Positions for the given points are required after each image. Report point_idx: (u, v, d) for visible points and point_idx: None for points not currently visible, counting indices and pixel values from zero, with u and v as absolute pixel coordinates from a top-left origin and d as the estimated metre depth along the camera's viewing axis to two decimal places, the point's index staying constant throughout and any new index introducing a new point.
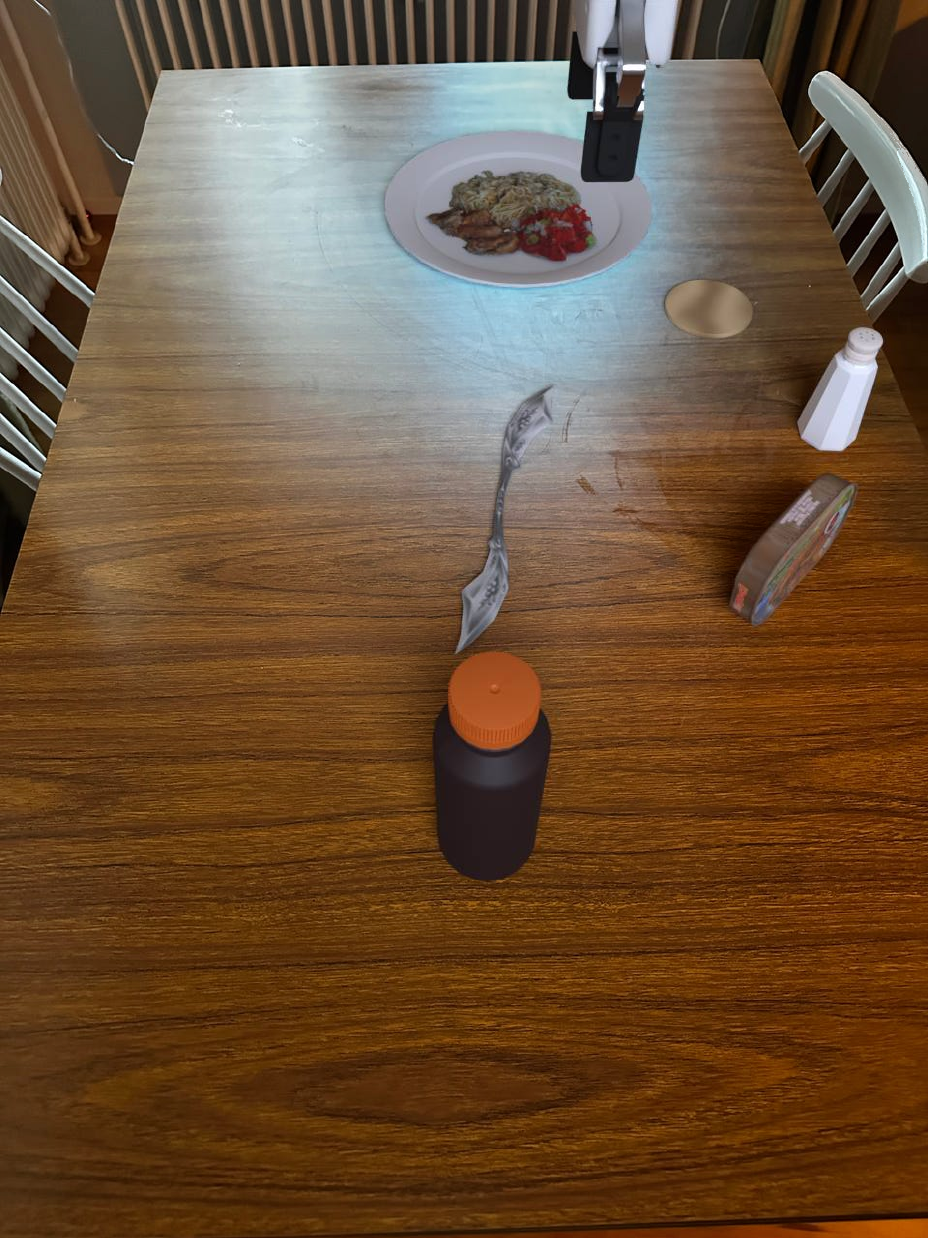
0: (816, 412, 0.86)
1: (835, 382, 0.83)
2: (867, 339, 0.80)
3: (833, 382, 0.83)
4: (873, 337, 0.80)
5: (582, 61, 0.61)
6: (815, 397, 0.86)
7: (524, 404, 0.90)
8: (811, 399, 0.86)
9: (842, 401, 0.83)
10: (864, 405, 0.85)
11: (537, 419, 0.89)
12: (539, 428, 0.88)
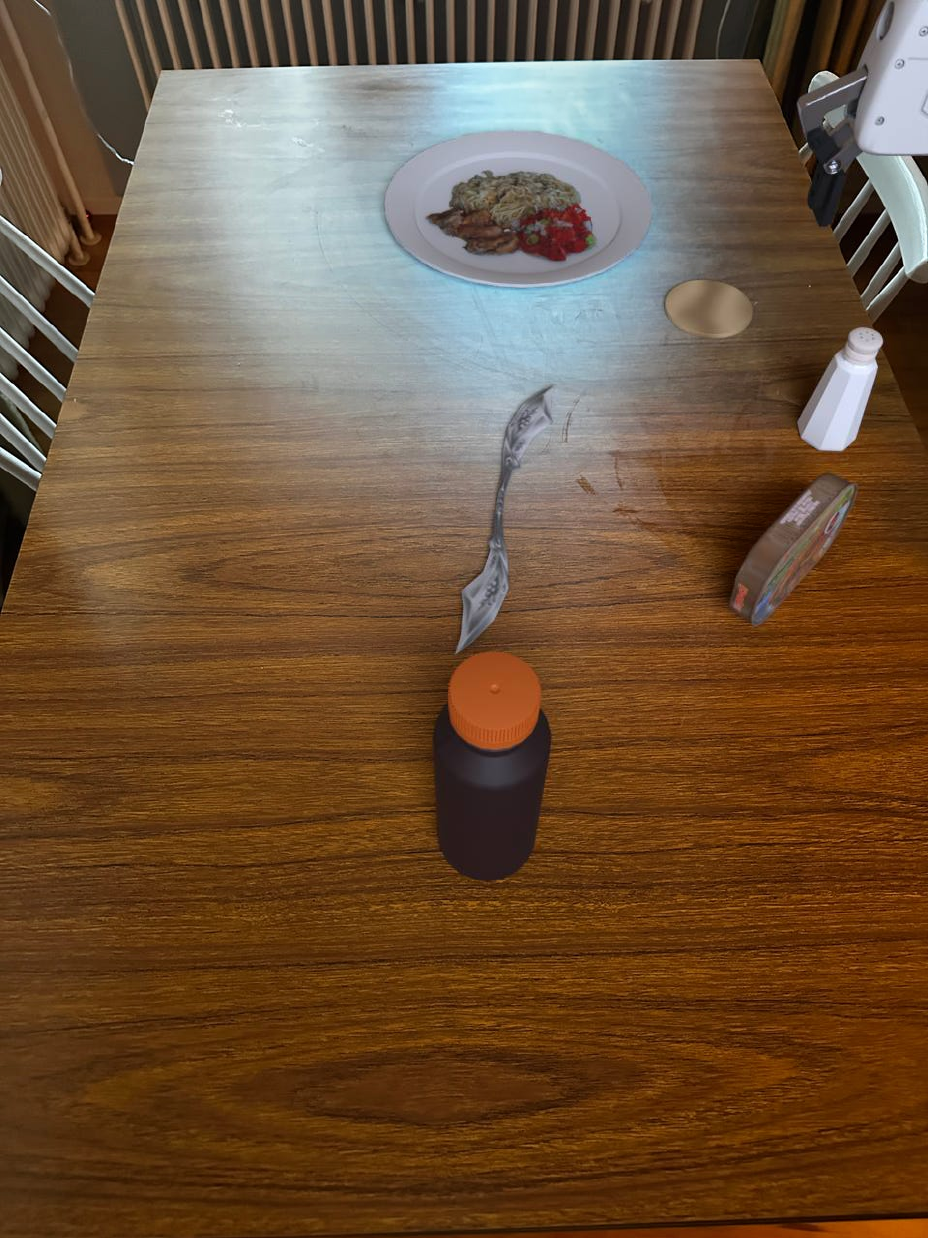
0: (816, 412, 0.86)
1: (835, 382, 0.83)
2: (867, 339, 0.80)
3: (833, 382, 0.83)
4: (873, 337, 0.80)
5: None
6: (815, 397, 0.86)
7: (524, 404, 0.90)
8: (811, 399, 0.86)
9: (842, 401, 0.83)
10: (864, 405, 0.85)
11: (537, 419, 0.89)
12: (539, 428, 0.88)
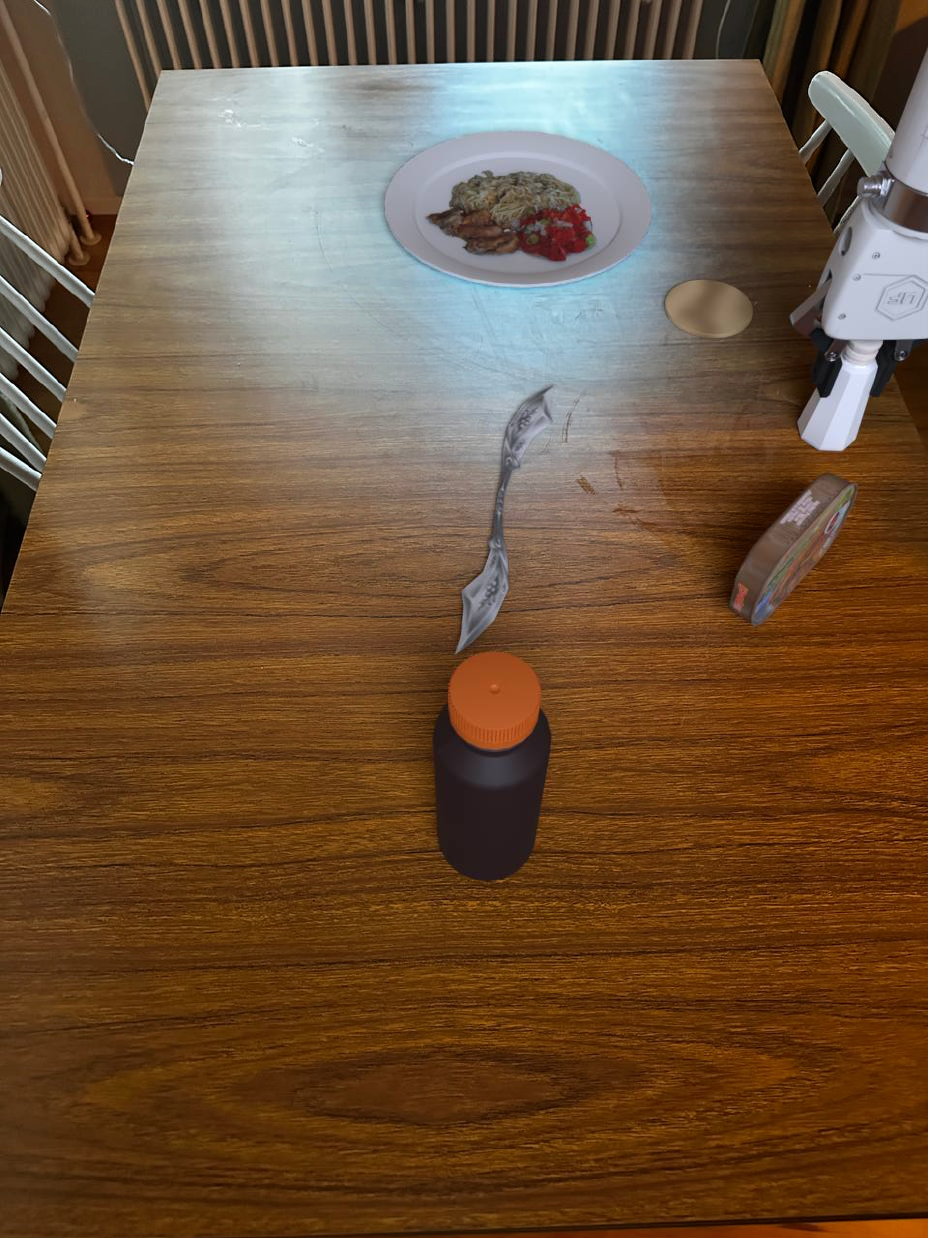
0: (816, 412, 0.86)
1: (835, 382, 0.83)
2: None
3: None
4: None
5: None
6: (815, 397, 0.86)
7: (524, 404, 0.90)
8: (811, 399, 0.86)
9: (842, 401, 0.83)
10: (864, 405, 0.85)
11: (537, 419, 0.89)
12: (539, 428, 0.88)
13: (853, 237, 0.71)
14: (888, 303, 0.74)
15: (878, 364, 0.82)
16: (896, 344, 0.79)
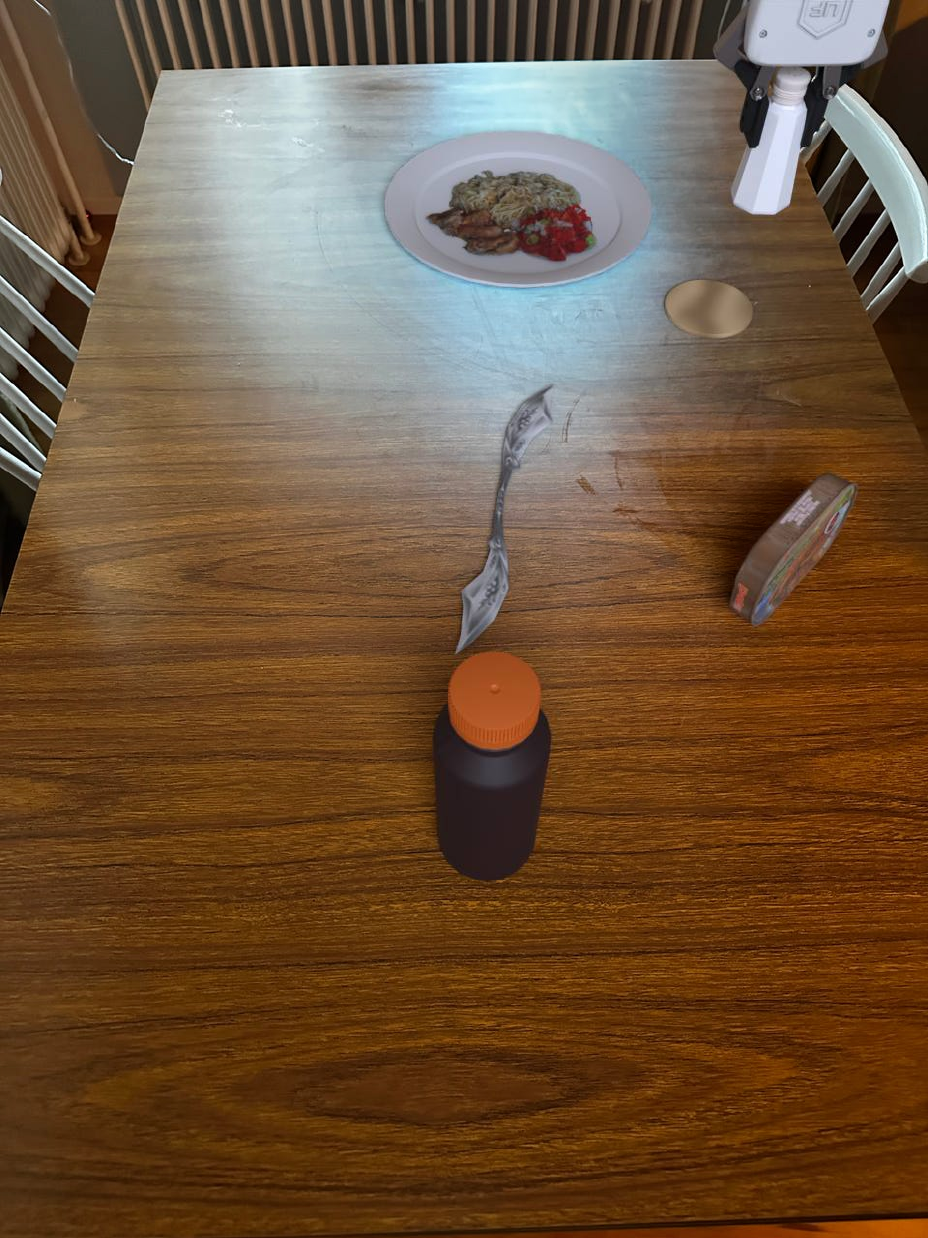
0: (747, 169, 0.83)
1: (764, 128, 0.80)
2: (794, 74, 0.77)
3: None
4: (801, 73, 0.77)
5: None
6: (746, 154, 0.83)
7: (524, 404, 0.90)
8: (742, 158, 0.84)
9: (772, 150, 0.80)
10: (796, 159, 0.82)
11: (537, 419, 0.89)
12: (539, 428, 0.88)
13: None
14: (810, 15, 0.71)
15: (807, 107, 0.79)
16: (824, 78, 0.76)
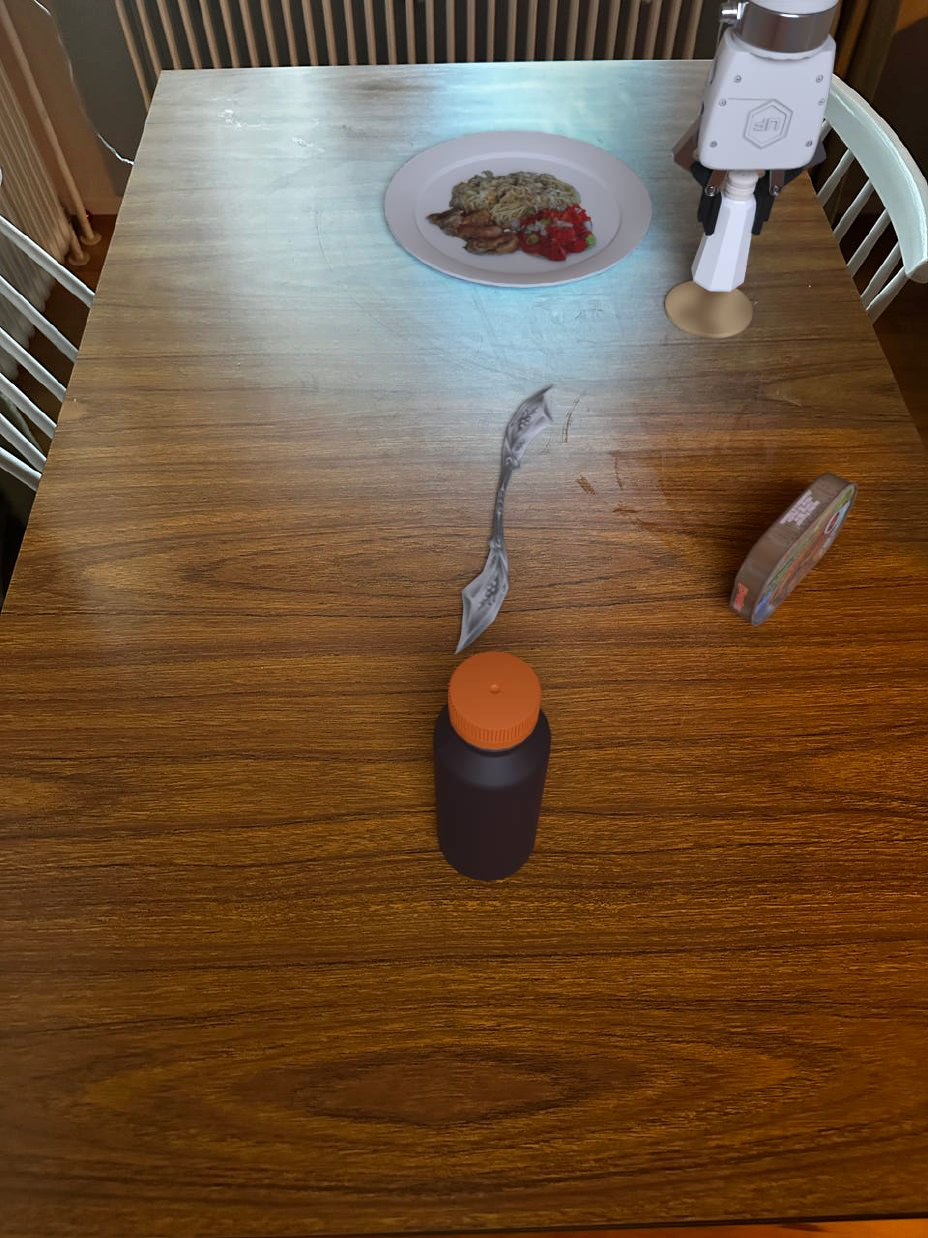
0: (704, 252, 0.92)
1: (718, 219, 0.89)
2: (744, 174, 0.86)
3: (717, 220, 0.89)
4: (749, 172, 0.87)
5: None
6: (704, 239, 0.92)
7: (524, 404, 0.90)
8: (701, 242, 0.93)
9: (725, 238, 0.90)
10: (748, 244, 0.91)
11: (537, 419, 0.89)
12: (539, 428, 0.88)
13: (717, 63, 0.78)
14: (754, 129, 0.81)
15: (757, 201, 0.89)
16: (770, 178, 0.86)
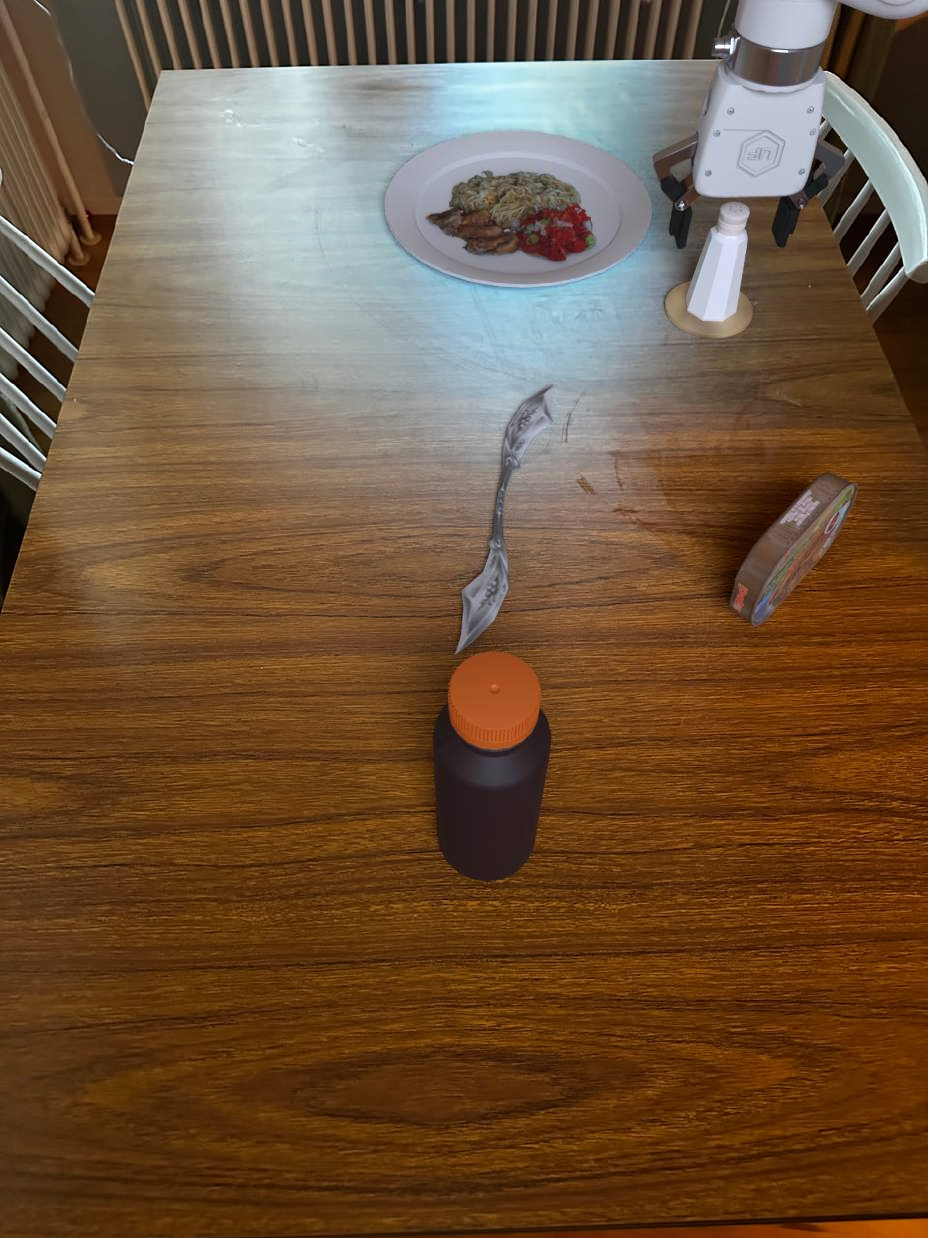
0: (698, 284, 0.95)
1: (711, 253, 0.92)
2: (735, 210, 0.89)
3: (709, 253, 0.92)
4: (741, 209, 0.89)
5: (778, 210, 0.91)
6: (697, 271, 0.95)
7: (524, 404, 0.90)
8: (694, 274, 0.96)
9: (718, 271, 0.93)
10: (739, 276, 0.94)
11: (537, 419, 0.89)
12: (539, 428, 0.88)
13: (711, 95, 0.80)
14: (748, 159, 0.83)
15: (782, 214, 0.90)
16: (790, 197, 0.87)
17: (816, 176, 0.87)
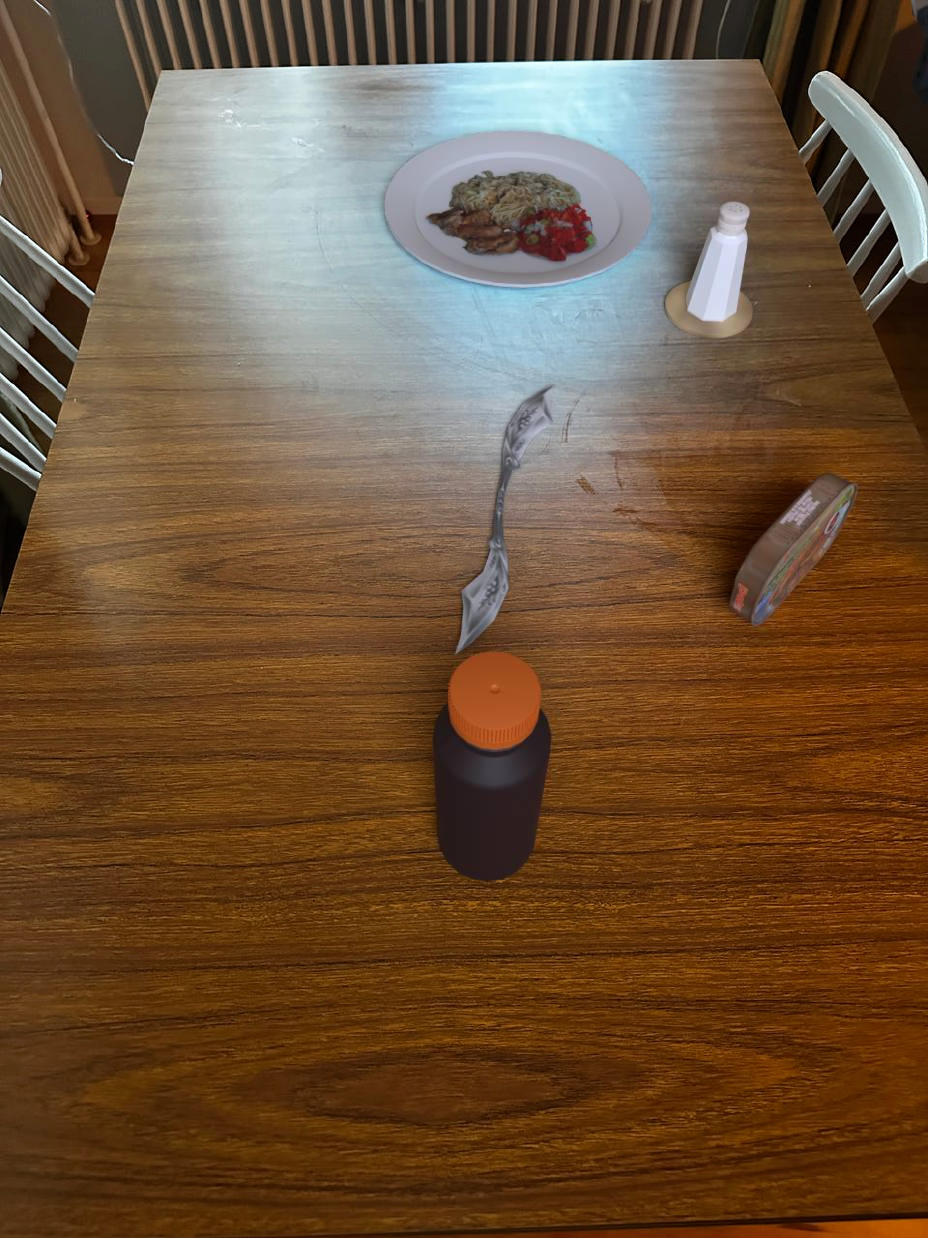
0: (698, 284, 0.95)
1: (711, 253, 0.92)
2: (735, 210, 0.89)
3: (709, 253, 0.92)
4: (741, 209, 0.89)
5: None
6: (697, 271, 0.95)
7: (524, 404, 0.90)
8: (694, 274, 0.96)
9: (718, 271, 0.93)
10: (739, 276, 0.94)
11: (537, 419, 0.89)
12: (539, 428, 0.88)
13: None
14: None
15: None
16: None
17: None
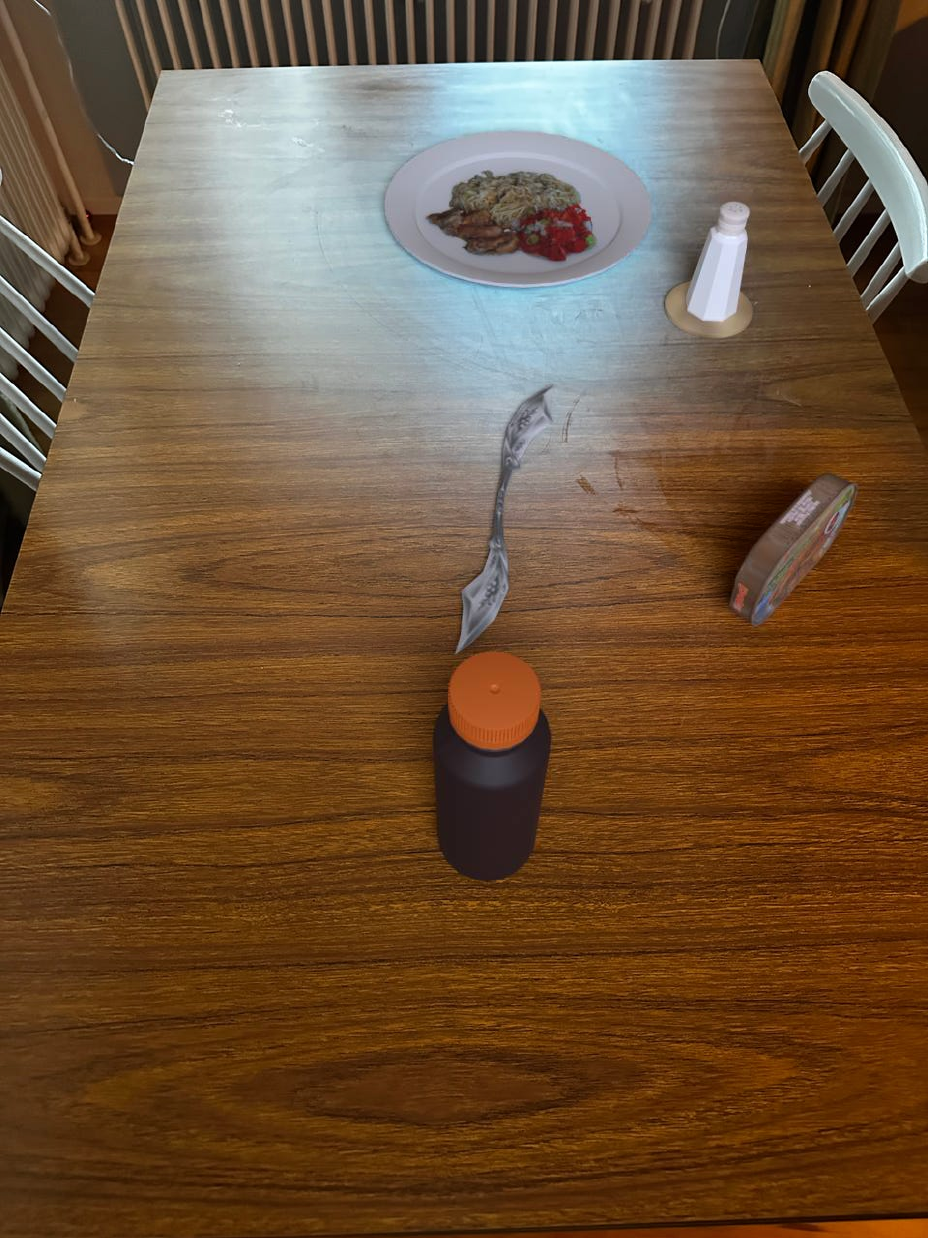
0: (698, 284, 0.95)
1: (711, 253, 0.92)
2: (735, 210, 0.89)
3: (709, 253, 0.92)
4: (741, 209, 0.89)
5: None
6: (697, 271, 0.95)
7: (524, 404, 0.90)
8: (694, 274, 0.96)
9: (718, 271, 0.93)
10: (739, 276, 0.94)
11: (537, 419, 0.89)
12: (539, 428, 0.88)
13: None
14: None
15: None
16: None
17: None
